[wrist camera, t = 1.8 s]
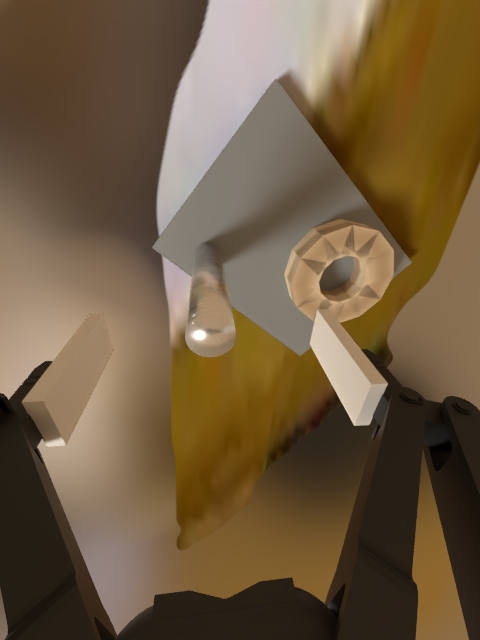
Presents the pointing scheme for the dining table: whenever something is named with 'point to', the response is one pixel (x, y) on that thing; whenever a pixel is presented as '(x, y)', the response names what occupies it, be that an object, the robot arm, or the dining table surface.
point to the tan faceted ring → (329, 245)
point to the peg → (209, 305)
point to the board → (270, 214)
